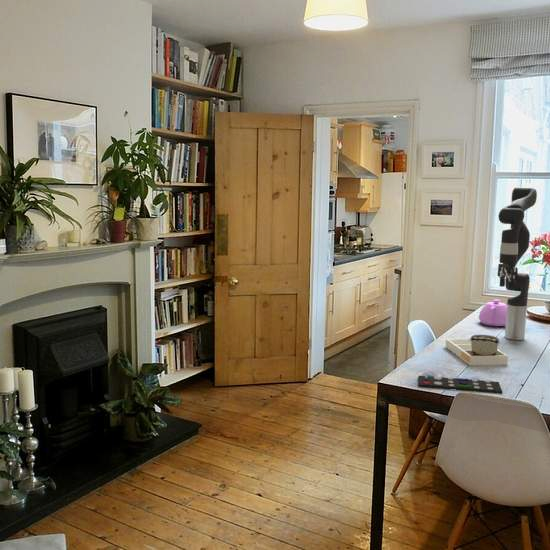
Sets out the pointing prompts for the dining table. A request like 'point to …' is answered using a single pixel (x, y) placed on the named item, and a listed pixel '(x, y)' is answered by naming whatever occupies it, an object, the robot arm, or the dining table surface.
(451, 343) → the cream compartment tray
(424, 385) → the remote control
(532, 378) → the dining table surface
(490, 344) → the food container
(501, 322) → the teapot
